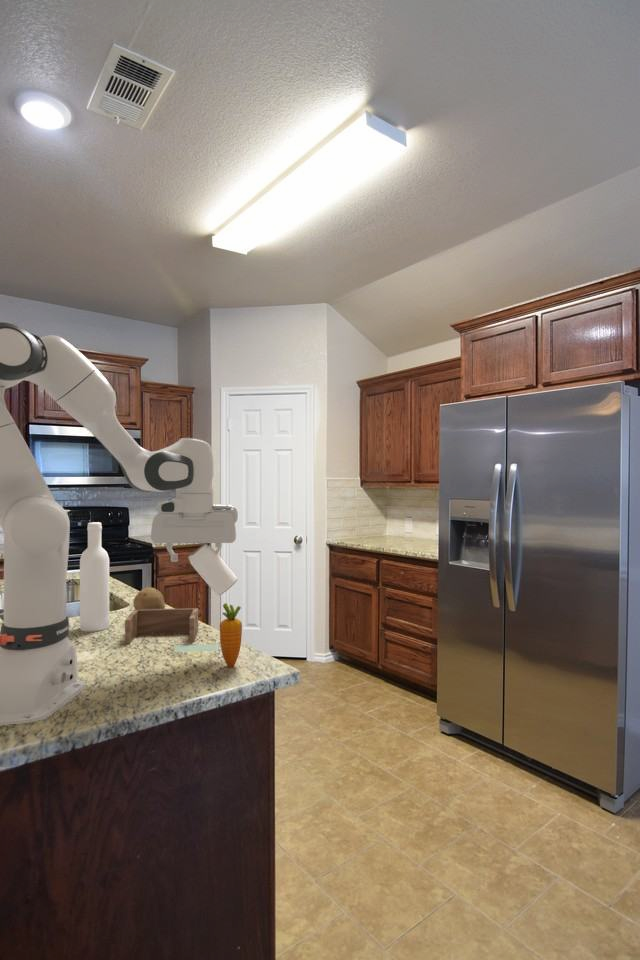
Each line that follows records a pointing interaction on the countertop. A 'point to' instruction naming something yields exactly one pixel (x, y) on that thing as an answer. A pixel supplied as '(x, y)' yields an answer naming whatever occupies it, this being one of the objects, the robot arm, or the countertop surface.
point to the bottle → (94, 583)
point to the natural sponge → (149, 599)
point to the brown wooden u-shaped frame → (161, 622)
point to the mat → (196, 648)
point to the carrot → (230, 635)
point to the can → (212, 569)
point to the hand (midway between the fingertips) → (194, 561)
